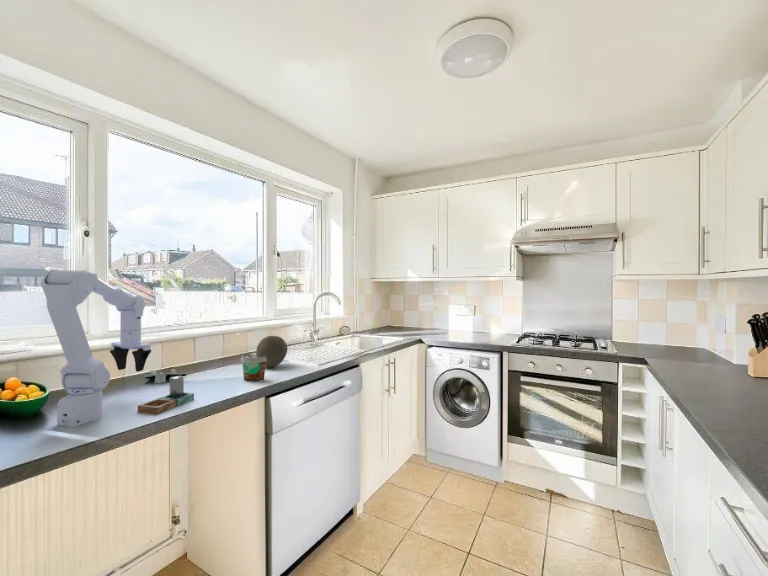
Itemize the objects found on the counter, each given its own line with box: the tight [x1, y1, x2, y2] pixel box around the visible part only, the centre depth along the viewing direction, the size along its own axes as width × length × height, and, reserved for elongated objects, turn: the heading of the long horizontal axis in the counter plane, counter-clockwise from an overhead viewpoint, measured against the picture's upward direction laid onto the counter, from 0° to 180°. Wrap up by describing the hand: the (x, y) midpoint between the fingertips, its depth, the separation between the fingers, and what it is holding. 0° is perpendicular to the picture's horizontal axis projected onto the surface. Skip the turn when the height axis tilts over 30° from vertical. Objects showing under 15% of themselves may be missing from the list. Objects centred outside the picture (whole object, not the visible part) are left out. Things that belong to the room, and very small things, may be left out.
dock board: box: [136, 392, 195, 416], centre depth 114 cm, size 16×7×3 cm, turn 166°
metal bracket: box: [144, 368, 187, 384], centre depth 149 cm, size 14×6×15 cm
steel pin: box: [169, 375, 185, 399], centre depth 118 cm, size 4×4×8 cm
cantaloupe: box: [255, 335, 288, 369], centre depth 172 cm, size 14×14×15 cm
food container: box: [240, 353, 267, 382], centre depth 149 cm, size 12×6×10 cm, turn 62°
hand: (130, 370), depth 121 cm, fingers open, 7 cm apart
